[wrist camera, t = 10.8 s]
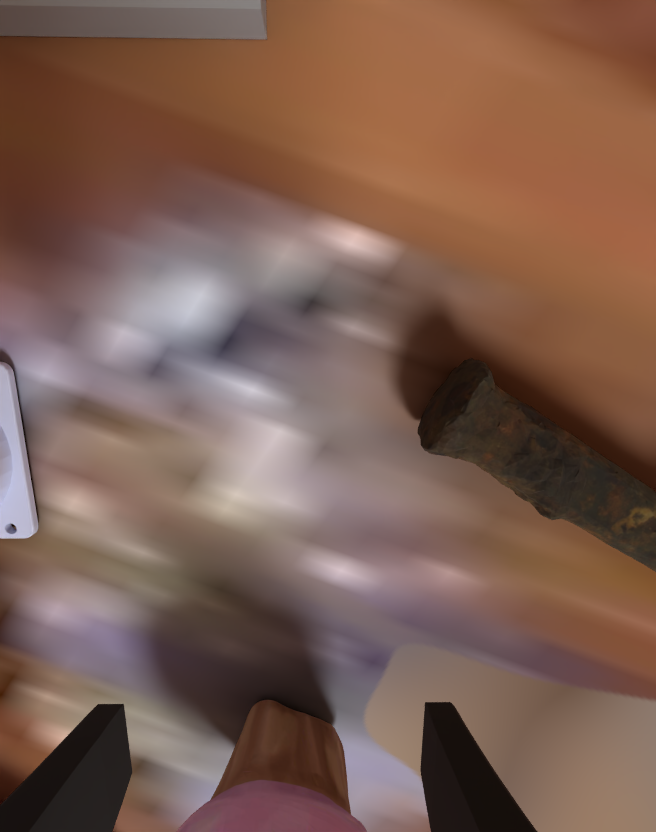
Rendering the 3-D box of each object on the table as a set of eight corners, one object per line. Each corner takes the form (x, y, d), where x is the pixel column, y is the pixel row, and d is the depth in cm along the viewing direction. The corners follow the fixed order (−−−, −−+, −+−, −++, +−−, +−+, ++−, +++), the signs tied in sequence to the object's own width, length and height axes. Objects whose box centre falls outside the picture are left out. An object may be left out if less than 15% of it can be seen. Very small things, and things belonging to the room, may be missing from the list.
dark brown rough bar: (401, 425, 19) (426, 459, 14) (455, 351, 18) (500, 362, 13) (696, 625, 21) (796, 707, 17) (754, 567, 21) (876, 637, 16)
